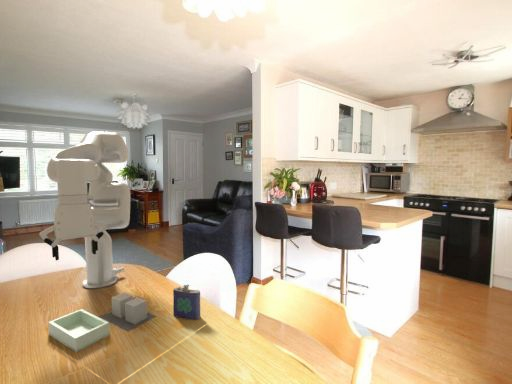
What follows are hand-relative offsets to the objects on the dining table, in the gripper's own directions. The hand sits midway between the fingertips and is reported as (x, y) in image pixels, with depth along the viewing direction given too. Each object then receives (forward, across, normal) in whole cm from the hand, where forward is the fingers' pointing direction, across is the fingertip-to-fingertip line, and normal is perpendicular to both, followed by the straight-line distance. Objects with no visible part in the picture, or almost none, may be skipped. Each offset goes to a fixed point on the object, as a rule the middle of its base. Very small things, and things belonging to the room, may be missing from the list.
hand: (76, 256), depth 89 cm
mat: (+20, -12, +8) cm, 25 cm away
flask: (+21, -27, +19) cm, 39 cm away
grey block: (+20, -14, +11) cm, 27 cm away
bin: (+20, +1, +10) cm, 23 cm away
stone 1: (+20, -12, +4) cm, 24 cm away
